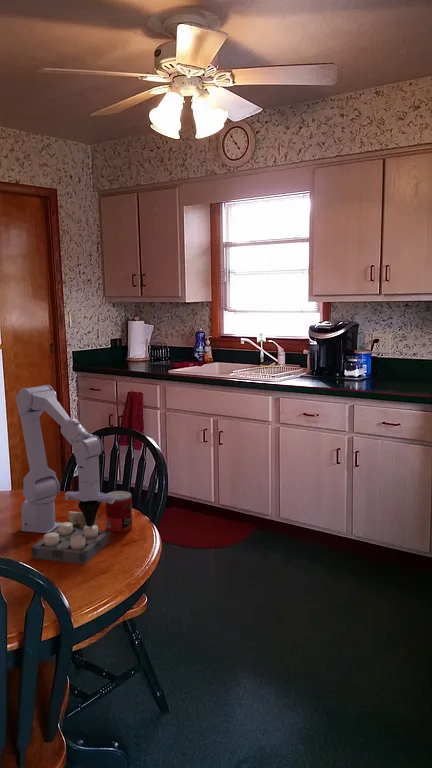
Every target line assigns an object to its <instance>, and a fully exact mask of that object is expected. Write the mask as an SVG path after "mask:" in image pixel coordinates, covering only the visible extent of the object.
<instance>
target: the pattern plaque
mask: <svg viewBox="0 0 432 768" xmlns="http://www.w3.org/2000/svg"><path fill="white" fill-rule="evenodd" d="M68 522H70V523H72V524H73V527H74V528H84V527H85V526H87V524H86V521H85V518H84V515H83V513H82V511H70V510H69V511H68ZM94 525H97V526H98V525H99V524H98V514H96V518H95V523H94ZM98 527H99V526H98Z"/></svg>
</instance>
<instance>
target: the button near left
mask: <svg viewBox="0 0 432 768" xmlns="http://www.w3.org/2000/svg"><path fill="white" fill-rule="evenodd" d="M43 538H44V546H46V547H56V546H58V545H59V534H58V533H51V532H50V533H44V535H43Z"/></svg>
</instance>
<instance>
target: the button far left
mask: <svg viewBox="0 0 432 768" xmlns="http://www.w3.org/2000/svg"><path fill="white" fill-rule="evenodd" d="M60 523H61V524H59V525H58V527H57V528H58V530H59V535H62V536H70V535H71V534H73V524H72V523H70V522H69V521H68V522H67V521H65V522H60Z"/></svg>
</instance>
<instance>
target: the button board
mask: <svg viewBox="0 0 432 768" xmlns="http://www.w3.org/2000/svg"><path fill="white" fill-rule="evenodd" d="M50 533H58V534H59V530H58V527H57V528H55V529H54V530H53V531H51V532H50ZM77 535H81V536H84V528H74V527H73V534H71V535H70V536H62V535H59V545H58V546H56V547H46V546H44V537H43V538H42V539H40V540H39V541H38V542H37V543H35V544H34V545H32V546H31V547H30V550H31V552H30V553H31V559H36V560H45V561H53V562H62V563H69V564H79V565H87V563H88V562H89V561H90V560H92V558H94V557H95V556H96V555H97V554H98V553H99V552H100V551H101V550H102V549H103V548H105V546H106V545H107V544H108V543H110V542H111V533H110V531H107V530H100V529H98V537H97V538H95V539H90V538H85V548H84V549H83V550H73V549H71V547H70V538H71V537H73V536H77Z"/></svg>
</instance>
